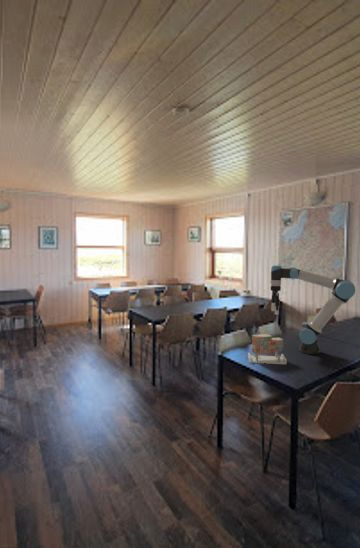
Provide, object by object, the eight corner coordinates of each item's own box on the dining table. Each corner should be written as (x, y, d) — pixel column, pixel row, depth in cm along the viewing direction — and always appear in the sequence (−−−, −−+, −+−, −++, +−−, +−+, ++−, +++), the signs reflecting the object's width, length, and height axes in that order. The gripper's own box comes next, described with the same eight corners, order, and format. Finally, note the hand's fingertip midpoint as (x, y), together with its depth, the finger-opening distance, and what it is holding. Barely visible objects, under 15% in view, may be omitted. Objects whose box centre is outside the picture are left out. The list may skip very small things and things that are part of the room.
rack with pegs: (282, 358, 237) (282, 349, 236) (286, 364, 224) (286, 355, 223) (247, 356, 239) (248, 348, 239) (250, 362, 226) (250, 354, 226)
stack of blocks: (278, 349, 236) (279, 333, 235) (283, 352, 230) (283, 335, 229) (251, 351, 232) (252, 334, 231) (255, 354, 226) (255, 336, 225)
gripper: (267, 283, 261) (267, 309, 263) (273, 287, 236) (272, 315, 238) (277, 283, 260) (276, 309, 262) (284, 287, 236) (283, 316, 237)
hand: (274, 312), depth 250 cm, fingers open, 13 cm apart
